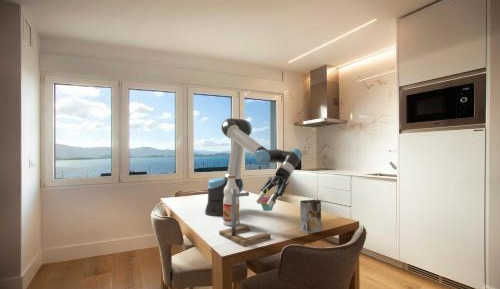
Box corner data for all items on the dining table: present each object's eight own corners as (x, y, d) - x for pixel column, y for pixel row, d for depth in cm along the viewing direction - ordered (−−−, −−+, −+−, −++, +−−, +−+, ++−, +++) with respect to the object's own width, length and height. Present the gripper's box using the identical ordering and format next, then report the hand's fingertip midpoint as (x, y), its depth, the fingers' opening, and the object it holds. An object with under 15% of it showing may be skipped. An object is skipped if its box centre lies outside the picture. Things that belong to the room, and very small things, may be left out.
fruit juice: (239, 226, 153) (239, 176, 153) (222, 226, 153) (222, 176, 153) (239, 221, 162) (239, 174, 162) (224, 221, 162) (224, 174, 163)
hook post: (230, 234, 131) (230, 189, 131) (247, 231, 137) (247, 187, 137) (233, 236, 129) (233, 189, 130) (249, 232, 135) (250, 188, 136)
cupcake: (258, 208, 148) (258, 186, 148) (274, 208, 148) (274, 186, 149) (260, 212, 139) (260, 188, 139) (277, 211, 140) (277, 188, 140)
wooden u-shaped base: (219, 234, 137) (219, 230, 137) (246, 228, 148) (246, 225, 148) (242, 246, 122) (242, 241, 122) (270, 238, 132) (270, 234, 132)
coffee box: (314, 228, 149) (314, 199, 149) (321, 231, 143) (321, 201, 143) (300, 230, 145) (300, 200, 145) (307, 233, 139) (307, 202, 139)
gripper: (302, 177, 145) (280, 212, 135) (275, 174, 162) (254, 204, 152) (295, 168, 142) (272, 202, 132) (268, 166, 159) (246, 196, 149)
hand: (262, 203), depth 142 cm, fingers closed on cupcake, 8 cm apart
